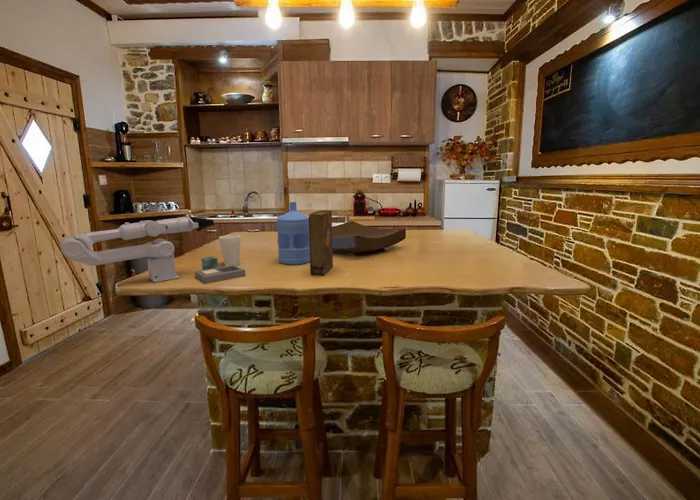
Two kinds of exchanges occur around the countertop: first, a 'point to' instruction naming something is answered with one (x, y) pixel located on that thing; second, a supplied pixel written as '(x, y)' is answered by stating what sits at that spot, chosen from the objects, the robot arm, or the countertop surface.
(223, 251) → the foam cup
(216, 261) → the block
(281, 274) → the countertop surface
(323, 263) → the book
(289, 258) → the water jug
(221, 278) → the frame
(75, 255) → the robot arm
